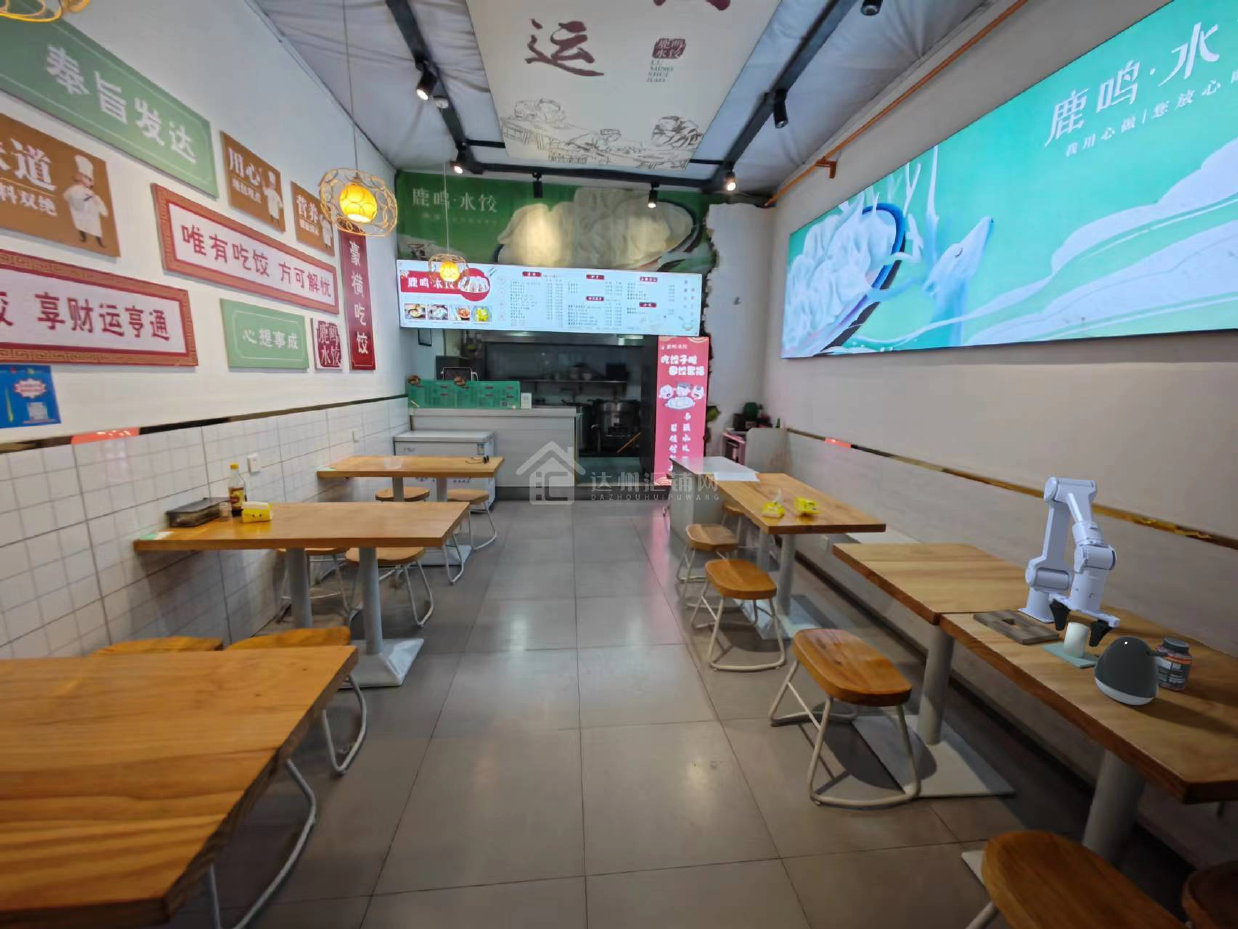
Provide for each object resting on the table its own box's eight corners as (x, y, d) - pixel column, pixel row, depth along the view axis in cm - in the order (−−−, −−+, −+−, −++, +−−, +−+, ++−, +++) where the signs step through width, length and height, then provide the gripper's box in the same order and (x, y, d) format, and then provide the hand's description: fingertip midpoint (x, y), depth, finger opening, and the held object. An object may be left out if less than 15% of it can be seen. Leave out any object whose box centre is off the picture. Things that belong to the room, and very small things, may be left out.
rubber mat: (1065, 643, 131) (1065, 641, 131) (1104, 663, 123) (1105, 661, 122) (1040, 647, 129) (1041, 645, 129) (1079, 667, 120) (1079, 665, 120)
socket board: (1008, 613, 147) (1009, 609, 147) (1058, 638, 134) (1060, 633, 134) (972, 618, 144) (973, 614, 143) (1021, 644, 130) (1022, 639, 130)
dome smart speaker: (1141, 718, 103) (1159, 655, 100) (1080, 688, 112) (1094, 630, 109) (1163, 705, 107) (1180, 645, 104) (1102, 678, 116) (1116, 622, 113)
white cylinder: (1069, 648, 128) (1075, 621, 126) (1086, 656, 124) (1093, 629, 123) (1058, 649, 127) (1064, 622, 126) (1075, 658, 123) (1082, 630, 122)
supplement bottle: (1166, 677, 117) (1178, 635, 115) (1192, 693, 111) (1205, 650, 109) (1140, 675, 118) (1151, 634, 116) (1164, 691, 112) (1176, 648, 110)
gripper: (1044, 579, 128) (1034, 625, 131) (1110, 605, 114) (1098, 655, 117) (1063, 577, 130) (1053, 622, 132) (1131, 602, 116) (1118, 652, 119)
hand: (1075, 637), depth 125 cm, fingers open, 7 cm apart
